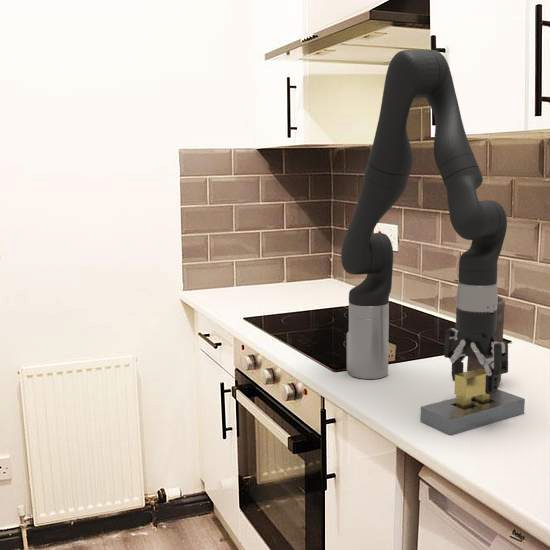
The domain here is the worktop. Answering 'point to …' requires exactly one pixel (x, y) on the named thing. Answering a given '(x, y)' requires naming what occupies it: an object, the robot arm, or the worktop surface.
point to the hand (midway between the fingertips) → (473, 386)
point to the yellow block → (471, 388)
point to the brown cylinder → (498, 335)
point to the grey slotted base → (471, 412)
